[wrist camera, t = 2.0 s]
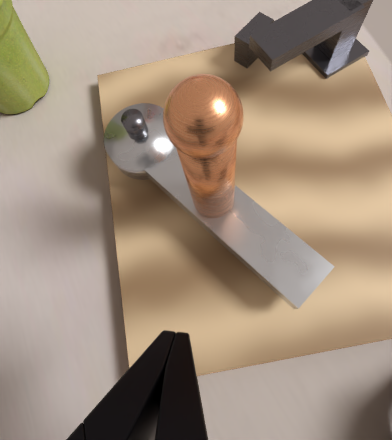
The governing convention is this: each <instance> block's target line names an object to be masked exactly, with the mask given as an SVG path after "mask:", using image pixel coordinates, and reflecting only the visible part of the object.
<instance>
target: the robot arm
mask: <svg viewBox="0 0 392 440" xmlns="http://www.w3.org/2000/svg"><path fill="white" fill-rule="evenodd" d="M83 422H84V424H83V423H81V424H80V425H79V426H78V427H77V428H76V429H75V431H74V432H73V433H72V434H71V435H70V436H69V437H68V438H67V439H66V440H208V436H207V431H206V425H205V420H204V414H203V408H202V403H201V397H200V392H199V386H198V380H197V375H196V369H195V364H194V358H193V352H192V347H191V341H190V336H189V334H188V333H184V332H177V333H176V332H174V331H168V330H164V331H162V332H161V333H160V334H159V335H158V336H157V338H156V339H155V340H154V341H153V342H152V343H151V344H150V346H149V347H148V348H147V349H146V350H145V351H144V352H143V353H142V355H141V356H140V357H139V358H138V359H137V360H136V361H135V363H134V364H133V365H132V366H131V367H130V368H129V369H128V371H127V372H126V373H125V374H124V375H123V376H122V377H121V378H120V380H119V381H118V382H117V383H116V384H115V385H114V386H113V388H112V389H111V390H110V391H109V392H108V393H107V394H106V396H105V397H104V398H103V399H102V400H101V401H100V402H99V403H98V405H97V406H96V407H95V408H94V409H93V410H92V411H91V413H90V414H89V415H88V416H87V417H86V418H85V419H84V421H83Z"/></svg>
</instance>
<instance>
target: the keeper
mask: <svg viewBox="0 0 392 440" xmlns="http://www.w3.org/2000/svg"><path fill="white" fill-rule="evenodd" d="M372 2H373V0H312V1H310V2H308V3H306V4H305V5H303V6H301V7H299V8H298V9H296V10H294V11H292V12H290V13H289V14H287V15H285V16H283V17H282V18H280V19H278V20H276V21H274V20H273V19H271V18H270V17H268V16H266V15H264V14H262V13H261V12H259V13H258V14H257V15H256V16H255V17H254V18H253V19H252V20H251V21H250V22H249V23H248V24H247V25H246V26H245V27H244V28H243V29H242V30H241V31H240V32H239V33H238V34H237V35H235V51H234V61H235V62H237V63H239V64H240V65H242V66H244V67H245V68H248V67H249V66H250V65H251V64H252V63H253V62H254V61H255V60H256V59H257V58H259V59H260V60H261V62H262V63H263V64H264V65H265V66H266V67H267V68H268V69H269V71H270V72H271V71H272V70H274V69H276V68H278V67H279V66H281V65H283V64H285V63H286V62H288V61H290V60H292V59H293V58H295V57H297V56H299V55H300V54H303V55H304V56H305V57H306V58H307V60H308V61H309V62H310V63H311V64H312V65H313V66H314V67H315V68H316V69H317V70H318V71H319V72H320V73H321V74H322V75H323V76H324V77H325V78H326V79H327V78H329V77H331V76H332V75H334V74H336V73H337V72H339V71H341V70H343V69H344V68H346V67H348V66H349V65H351V64H353V63H355V62H356V61H358V60H360V59H361V58H363V57H365V56H367V54H368V53H369V50H368V49H366V48H365V47H364V46H363V45H362V44H361V43H360V42H359V41H358V40H357V39H356V36H357V34H358V32H359V30H360V28H361V26H362V23H363V21H364V19H365V17H366V15H367V13H368V10H369V8H370V6H371V4H372Z"/></svg>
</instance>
